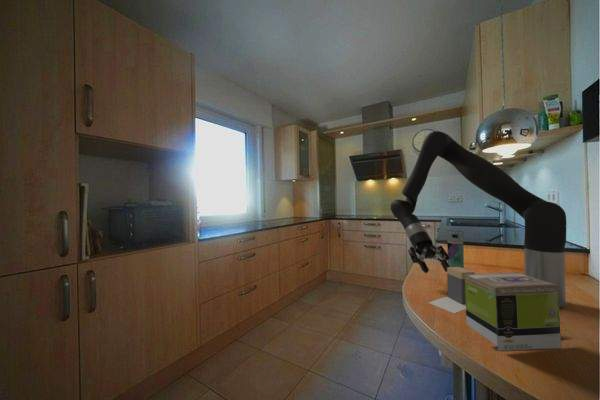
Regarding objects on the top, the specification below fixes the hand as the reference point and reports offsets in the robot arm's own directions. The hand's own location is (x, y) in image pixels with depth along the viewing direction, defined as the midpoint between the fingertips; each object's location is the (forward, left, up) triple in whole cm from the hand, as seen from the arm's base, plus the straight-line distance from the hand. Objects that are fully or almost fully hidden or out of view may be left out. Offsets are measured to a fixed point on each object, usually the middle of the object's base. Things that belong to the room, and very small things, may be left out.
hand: (437, 271), depth 86 cm
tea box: (+13, +26, -8) cm, 30 cm away
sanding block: (+4, +10, -6) cm, 12 cm away
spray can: (-15, -2, -8) cm, 17 cm away
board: (+8, +10, -7) cm, 15 cm away
